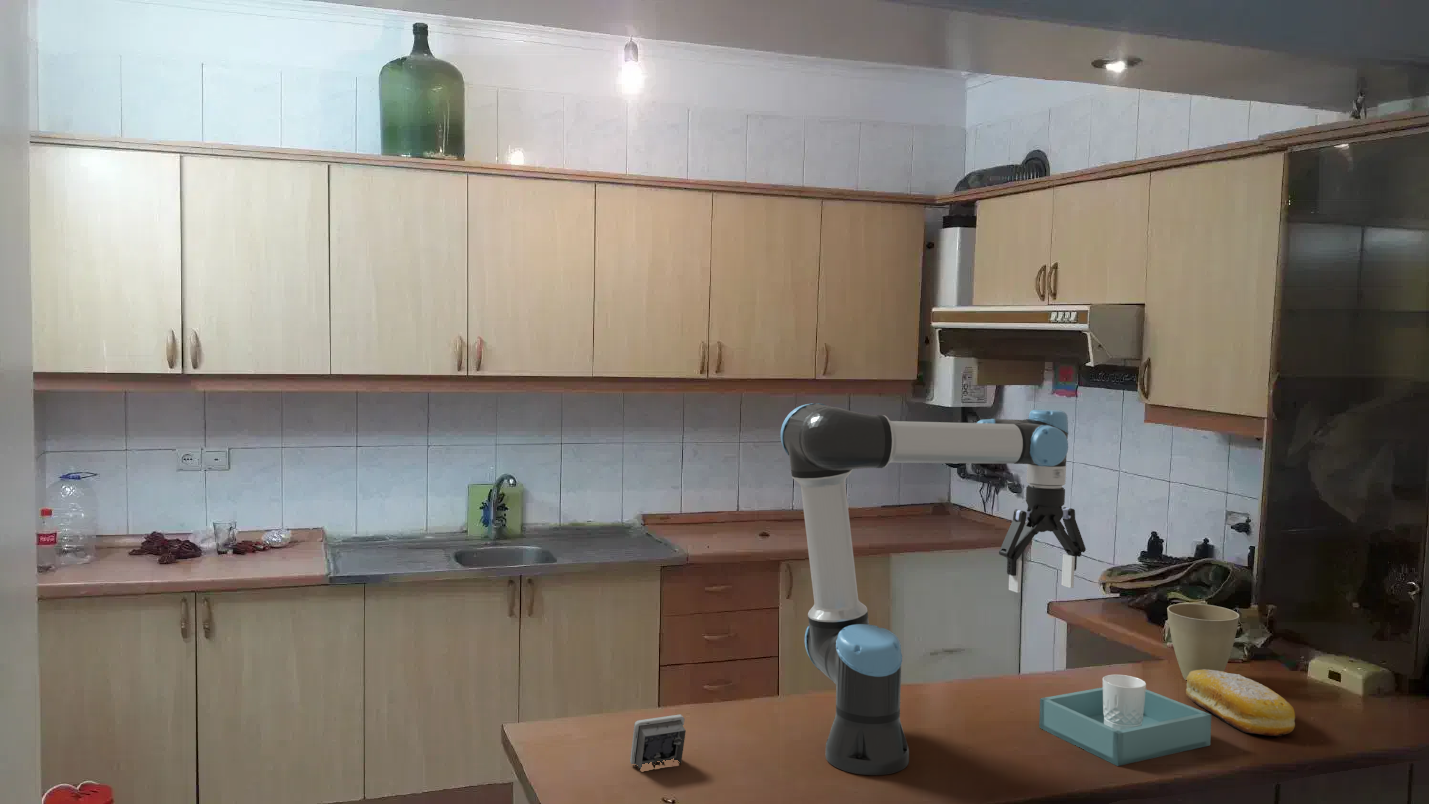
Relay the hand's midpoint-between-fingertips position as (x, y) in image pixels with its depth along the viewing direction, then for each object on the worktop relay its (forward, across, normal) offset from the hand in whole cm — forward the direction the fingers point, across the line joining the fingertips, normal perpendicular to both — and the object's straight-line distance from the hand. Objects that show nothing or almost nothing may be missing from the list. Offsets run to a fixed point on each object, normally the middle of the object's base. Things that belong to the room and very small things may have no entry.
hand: (1041, 589), depth 209 cm
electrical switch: (+28, -80, +4) cm, 85 cm away
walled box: (+26, +8, -15) cm, 31 cm away
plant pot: (+26, +51, +4) cm, 57 cm away
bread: (+26, +39, -16) cm, 49 cm away
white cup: (+25, +8, -15) cm, 31 cm away
